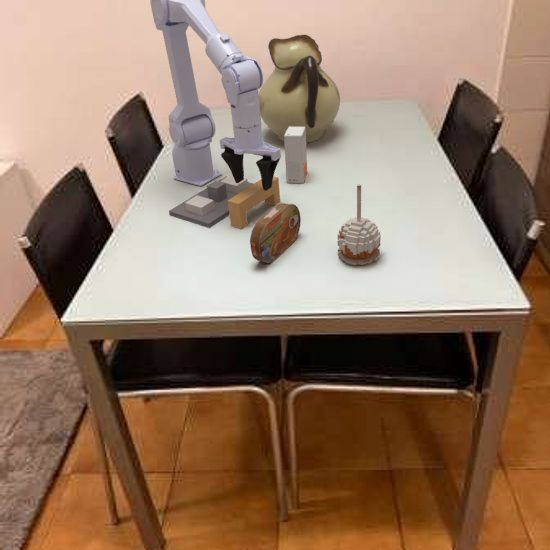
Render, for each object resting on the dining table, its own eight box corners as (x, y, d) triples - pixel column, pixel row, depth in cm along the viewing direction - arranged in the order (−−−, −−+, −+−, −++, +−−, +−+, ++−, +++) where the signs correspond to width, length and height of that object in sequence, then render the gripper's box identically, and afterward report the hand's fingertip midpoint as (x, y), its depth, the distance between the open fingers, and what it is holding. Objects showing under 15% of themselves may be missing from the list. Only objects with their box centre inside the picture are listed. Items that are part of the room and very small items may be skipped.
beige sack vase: (290, 116, 180) (284, 29, 166) (359, 129, 168) (359, 36, 154) (244, 143, 166) (234, 50, 152) (316, 159, 154) (312, 60, 139)
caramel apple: (348, 242, 119) (348, 172, 110) (385, 250, 115) (388, 179, 107) (331, 261, 114) (329, 190, 105) (369, 271, 110) (371, 198, 102)
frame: (230, 225, 128) (227, 200, 124) (269, 198, 137) (267, 174, 133) (241, 229, 126) (238, 203, 123) (280, 201, 135) (278, 177, 132)
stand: (169, 214, 134) (166, 196, 131) (226, 180, 147) (224, 163, 144) (209, 227, 128) (206, 209, 125) (265, 190, 141) (263, 172, 138)
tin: (263, 271, 113) (259, 232, 108) (249, 267, 114) (245, 229, 109) (303, 234, 123) (300, 197, 118) (289, 231, 124) (287, 194, 120)
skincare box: (304, 183, 142) (301, 135, 135) (286, 183, 143) (283, 135, 136) (308, 172, 147) (305, 126, 140) (290, 172, 148) (288, 126, 141)
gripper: (206, 124, 121) (215, 185, 129) (263, 136, 114) (269, 199, 121) (229, 113, 126) (236, 172, 133) (285, 123, 118) (289, 186, 126)
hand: (253, 184), depth 128 cm, fingers open, 7 cm apart
